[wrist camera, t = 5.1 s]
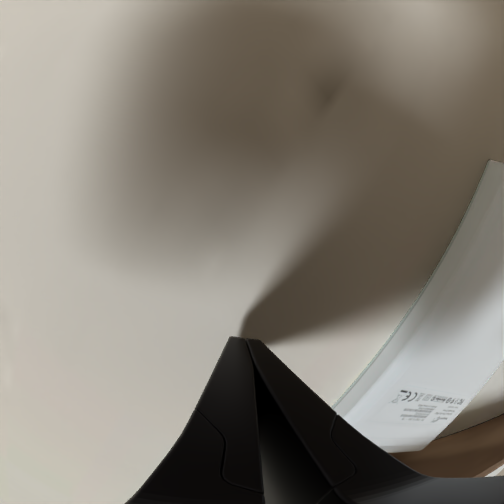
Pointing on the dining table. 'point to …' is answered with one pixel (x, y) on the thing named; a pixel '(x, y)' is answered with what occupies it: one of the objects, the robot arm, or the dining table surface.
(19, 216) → the dining table surface
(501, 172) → the external hard drive
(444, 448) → the rail
